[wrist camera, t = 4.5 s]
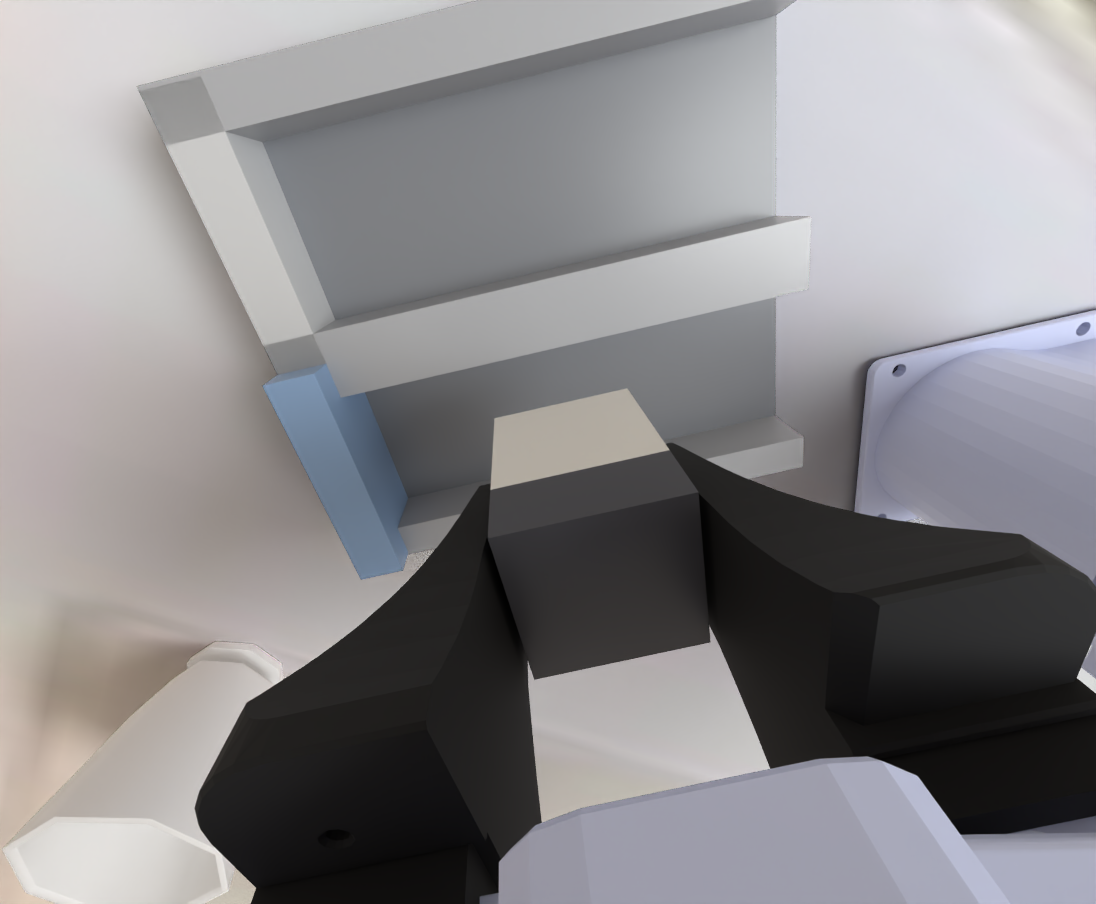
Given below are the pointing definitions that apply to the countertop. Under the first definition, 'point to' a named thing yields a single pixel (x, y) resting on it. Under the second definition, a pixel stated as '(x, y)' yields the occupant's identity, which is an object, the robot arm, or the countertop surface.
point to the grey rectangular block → (595, 535)
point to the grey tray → (499, 238)
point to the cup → (145, 795)
